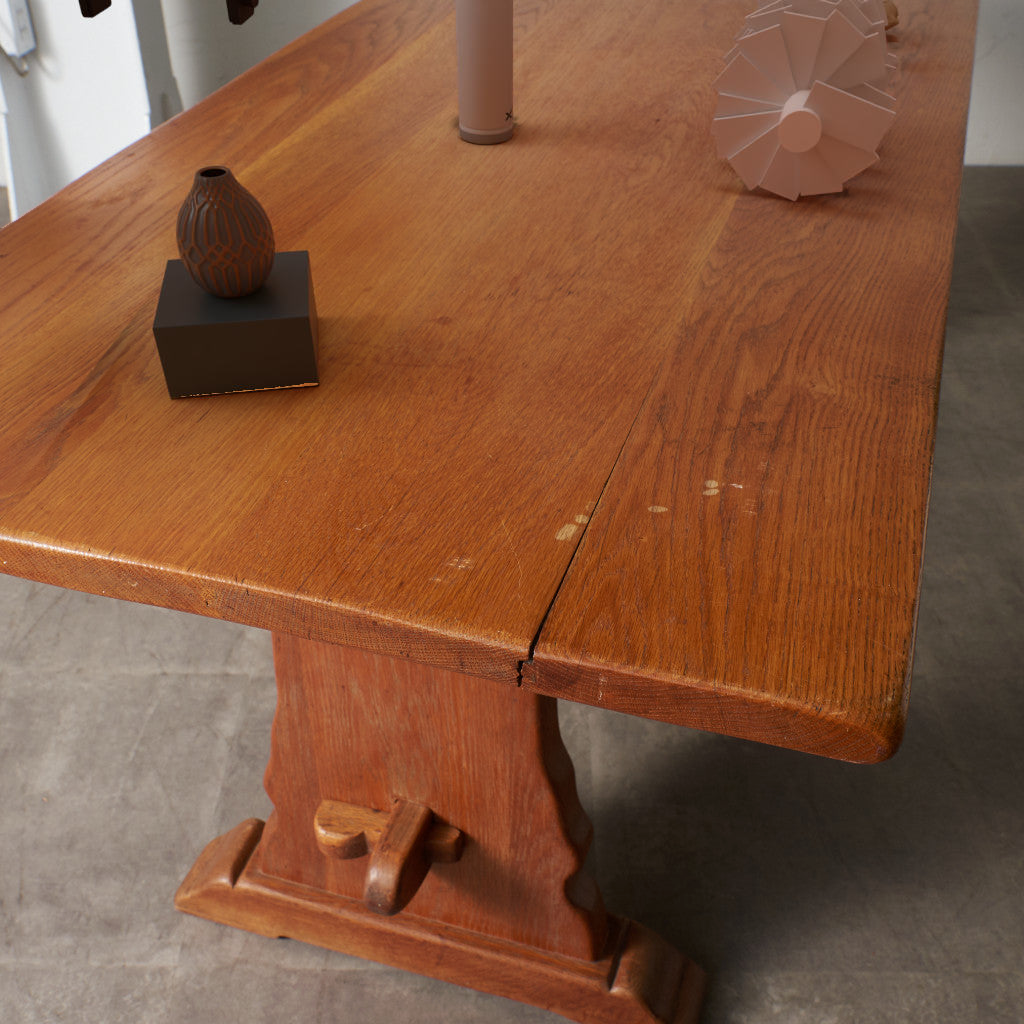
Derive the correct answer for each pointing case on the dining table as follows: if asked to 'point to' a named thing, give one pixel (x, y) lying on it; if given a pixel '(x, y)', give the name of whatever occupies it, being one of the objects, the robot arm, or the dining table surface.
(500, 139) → the travel mug
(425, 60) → the dining table surface
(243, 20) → the robot arm
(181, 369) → the riser block
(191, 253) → the vase
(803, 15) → the spiral staircase
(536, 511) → the dining table surface
